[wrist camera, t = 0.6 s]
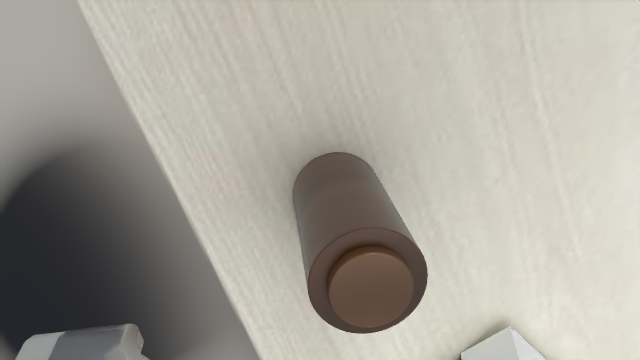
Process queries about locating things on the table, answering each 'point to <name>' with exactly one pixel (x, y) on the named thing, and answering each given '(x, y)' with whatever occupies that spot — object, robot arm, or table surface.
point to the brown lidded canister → (355, 246)
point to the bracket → (502, 348)
